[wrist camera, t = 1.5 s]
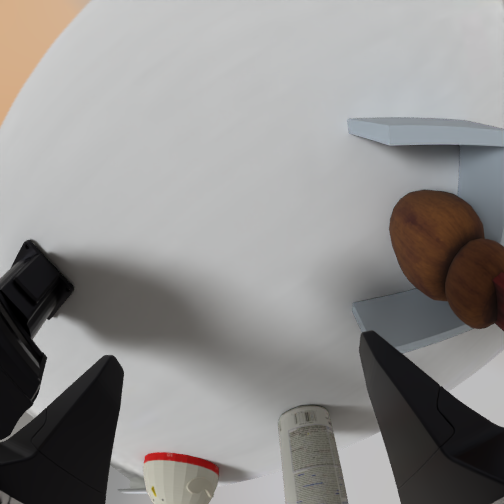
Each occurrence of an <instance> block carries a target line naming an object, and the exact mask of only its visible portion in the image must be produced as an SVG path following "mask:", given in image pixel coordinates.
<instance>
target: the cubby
mask: <svg viewBox="0 0 504 504" xmlns="http://www.w3.org/2000/svg"><path fill="white" fill-rule="evenodd" d="M347 121H348V130H349V134H353V135H356V136H360V137H363V138H367V139H370V140H373V141H377V142H380V143H383V144H386V145H389V146H393V145H428V144H452V145H460V161H459V186H458V197H460V198H462V199H463V200H464V201H466V202H467V203H468V204H470V205H471V206H472V208H473V209H474V211H475V212H476V213H477V215H478V216H479V218H480V220H481V222H482V223H483V228H484V236H485V239H490V240H494V241H496V242H498V243H499V244H501V245H502V246H503V247H504V129H502V128H498V127H494V126H490V125H485V124H481V123H476V122H471V121H465V120H452V119H436V118H356V119H347ZM352 312H353V314H354V316H355V318H356V321H357V323H358V325H359V327H360V329H361V332H364V331H369V330H373V331H375V332H376V333H377V334H379V335H380V336H381V337H382V338H384V339H385V340H386V341H387V342H388V343H390V344H391V345H392V346H393V347H395V348H396V349H397V350H398V351H399V352H401V353H402V354H403V353H406V352H409V351H412V350H416V349H419V348H422V347H425V346H428V345H431V344H434V343H437V342H440V341H443V340H446V339H448V338H451V337H454V336H456V335H459V334H462V333H464V332H467V331H469V330H472V329H474V328H471V327H470V326H468V325H466V324H465V323H464V322H462V321H461V320H460V319H459V318H458V317H457V316H456V314H455V313H454V312H453V311H452V309H451V308H450V306H449V303H448V301H438V300H433V299H431V298H429V297H428V296H426V295H425V294H423V293H422V292H421V291H420V290H418V289H413V290H409V291H405V292H401V293H397V294H392V295H388V296H383V297H379V298H374V299H370V300H365V301H360V302H355V303H353V311H352Z"/></svg>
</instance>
